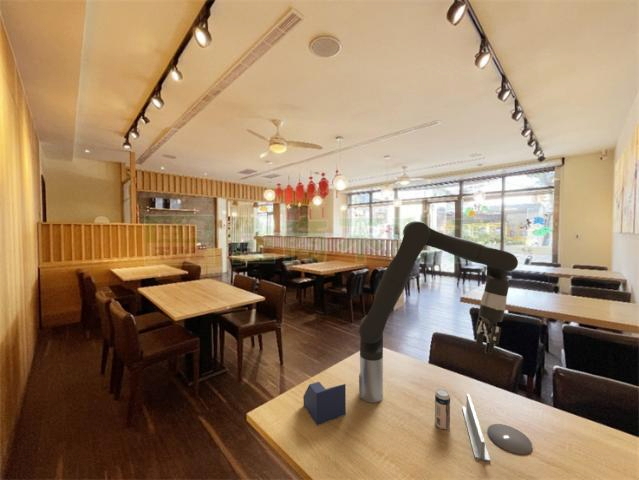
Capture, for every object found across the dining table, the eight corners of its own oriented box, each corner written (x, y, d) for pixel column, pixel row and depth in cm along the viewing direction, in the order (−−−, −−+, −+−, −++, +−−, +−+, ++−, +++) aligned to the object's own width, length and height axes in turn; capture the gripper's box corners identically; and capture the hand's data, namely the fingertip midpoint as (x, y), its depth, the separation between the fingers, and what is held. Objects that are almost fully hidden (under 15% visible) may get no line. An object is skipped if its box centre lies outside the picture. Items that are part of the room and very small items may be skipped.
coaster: (492, 448, 86) (492, 446, 86) (483, 422, 98) (483, 420, 98) (538, 458, 83) (538, 456, 83) (523, 430, 94) (523, 428, 94)
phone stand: (330, 396, 114) (329, 368, 113) (345, 414, 103) (345, 383, 102) (303, 405, 108) (302, 376, 108) (316, 425, 98) (316, 393, 97)
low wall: (475, 459, 83) (475, 440, 82) (462, 408, 105) (462, 392, 105) (490, 462, 81) (490, 443, 81) (473, 410, 104) (474, 394, 104)
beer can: (451, 431, 94) (451, 397, 93) (436, 429, 95) (436, 396, 94) (447, 421, 99) (448, 389, 98) (433, 419, 100) (433, 387, 99)
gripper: (474, 299, 108) (465, 339, 108) (489, 307, 94) (479, 354, 94) (495, 304, 106) (486, 344, 107) (513, 313, 92) (503, 360, 93)
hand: (483, 349), depth 100 cm, fingers open, 8 cm apart
